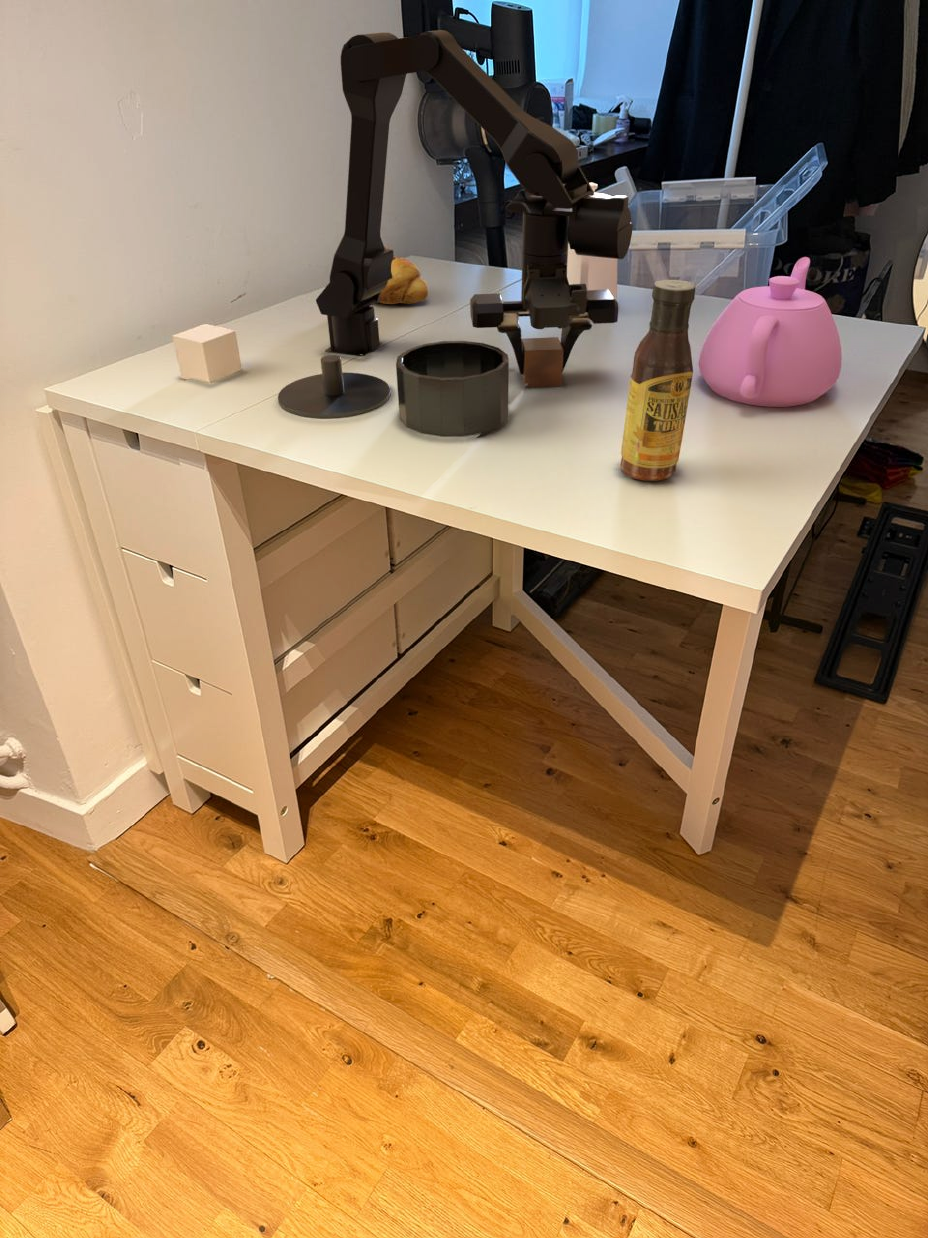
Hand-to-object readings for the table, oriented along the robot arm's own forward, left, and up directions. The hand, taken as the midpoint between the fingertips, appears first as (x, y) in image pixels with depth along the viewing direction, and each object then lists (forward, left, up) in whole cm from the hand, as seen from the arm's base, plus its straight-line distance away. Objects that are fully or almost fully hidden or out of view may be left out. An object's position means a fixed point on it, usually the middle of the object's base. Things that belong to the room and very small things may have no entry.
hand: (540, 372), depth 118 cm
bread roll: (-36, +27, -1) cm, 45 cm away
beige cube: (-44, -14, -1) cm, 46 cm away
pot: (-6, -16, -1) cm, 17 cm away
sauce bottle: (+20, -22, -1) cm, 30 cm away
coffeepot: (-4, +34, -1) cm, 34 cm away
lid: (-23, -16, 0) cm, 28 cm away
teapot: (+29, +9, -1) cm, 30 cm away
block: (0, 0, -1) cm, 1 cm away
